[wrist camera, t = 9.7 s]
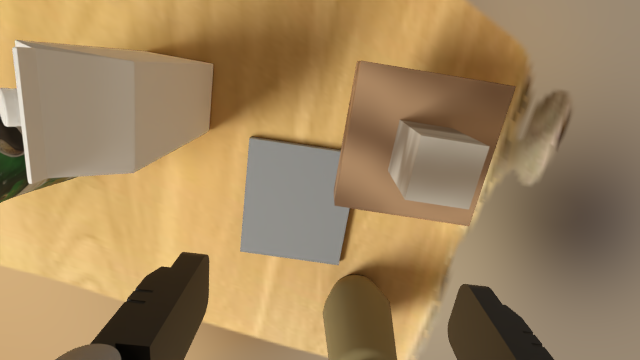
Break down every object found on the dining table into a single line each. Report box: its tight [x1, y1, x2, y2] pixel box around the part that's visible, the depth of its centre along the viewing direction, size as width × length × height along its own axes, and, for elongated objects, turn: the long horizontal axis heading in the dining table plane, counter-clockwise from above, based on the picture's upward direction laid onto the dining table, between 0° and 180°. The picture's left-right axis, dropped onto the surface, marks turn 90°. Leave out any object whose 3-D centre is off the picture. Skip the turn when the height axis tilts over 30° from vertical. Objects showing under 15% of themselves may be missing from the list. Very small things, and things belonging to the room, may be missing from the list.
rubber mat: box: [240, 137, 349, 265], centre depth 39 cm, size 14×12×1 cm
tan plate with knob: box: [334, 61, 516, 226], centre depth 24 cm, size 11×11×10 cm
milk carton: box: [0, 40, 213, 184], centre depth 26 cm, size 7×7×19 cm
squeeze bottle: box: [323, 275, 397, 360], centre depth 34 cm, size 8×8×18 cm
